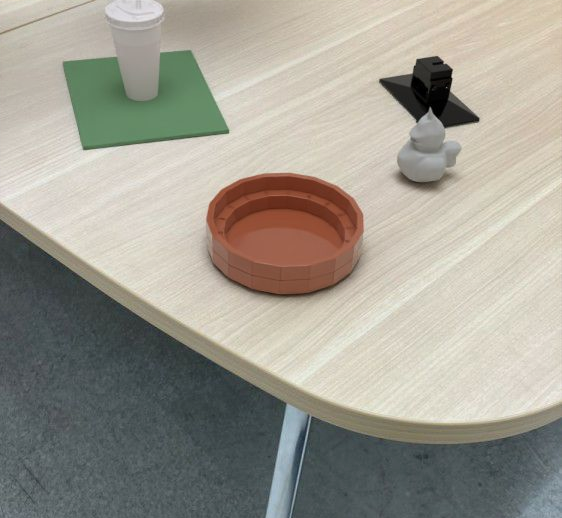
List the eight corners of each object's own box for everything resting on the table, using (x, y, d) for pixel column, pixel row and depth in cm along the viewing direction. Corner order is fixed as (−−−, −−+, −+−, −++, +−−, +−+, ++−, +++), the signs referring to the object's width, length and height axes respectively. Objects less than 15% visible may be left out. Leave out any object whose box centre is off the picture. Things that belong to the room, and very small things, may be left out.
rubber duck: (387, 164, 84) (399, 94, 78) (446, 160, 85) (461, 91, 80) (402, 193, 81) (415, 122, 75) (462, 189, 82) (480, 118, 76)
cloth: (83, 149, 84) (82, 146, 83) (63, 64, 97) (62, 61, 96) (229, 132, 87) (229, 129, 87) (190, 52, 100) (190, 49, 100)
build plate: (479, 122, 92) (489, 84, 88) (425, 132, 89) (432, 94, 86) (427, 73, 99) (434, 36, 96) (376, 81, 97) (381, 44, 94)
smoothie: (154, 111, 89) (143, -18, 79) (104, 99, 90) (87, -29, 80) (178, 86, 93) (171, -40, 83) (130, 75, 94) (117, -50, 84)
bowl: (229, 309, 68) (228, 278, 65) (193, 213, 77) (191, 182, 74) (382, 283, 71) (387, 253, 68) (330, 194, 80) (333, 164, 78)
